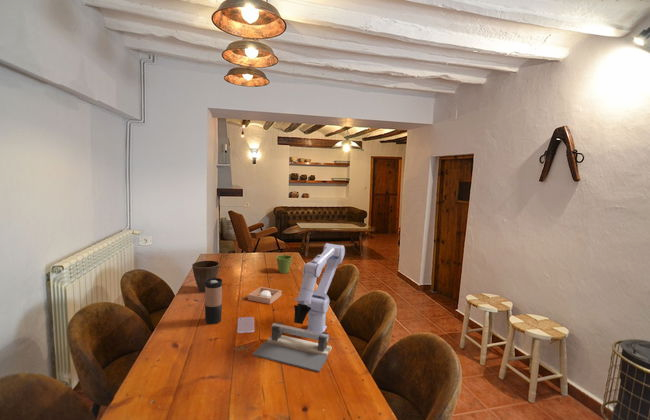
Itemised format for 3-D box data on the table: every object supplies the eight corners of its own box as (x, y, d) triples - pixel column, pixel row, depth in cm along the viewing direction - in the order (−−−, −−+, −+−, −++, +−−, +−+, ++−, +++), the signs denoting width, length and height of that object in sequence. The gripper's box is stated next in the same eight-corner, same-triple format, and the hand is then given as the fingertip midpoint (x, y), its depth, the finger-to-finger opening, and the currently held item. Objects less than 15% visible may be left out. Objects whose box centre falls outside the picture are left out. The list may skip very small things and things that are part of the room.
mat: (264, 343, 137) (264, 341, 137) (327, 357, 128) (327, 356, 128) (252, 355, 127) (252, 353, 127) (319, 372, 119) (319, 370, 119)
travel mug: (217, 316, 160) (217, 276, 157) (224, 321, 154) (225, 281, 152) (202, 320, 154) (202, 279, 152) (209, 326, 149) (209, 284, 147)
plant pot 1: (197, 296, 182) (197, 269, 180) (188, 288, 193) (188, 262, 191) (222, 291, 192) (223, 265, 190) (212, 284, 203) (213, 259, 201)
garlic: (261, 294, 191) (261, 288, 190) (272, 295, 190) (273, 289, 190) (257, 299, 183) (257, 293, 182) (269, 300, 182) (269, 294, 182)
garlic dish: (260, 291, 195) (260, 286, 194) (281, 295, 190) (281, 290, 190) (247, 299, 181) (247, 294, 181) (270, 304, 177) (270, 298, 177)
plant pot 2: (283, 268, 243) (283, 253, 242) (295, 272, 236) (295, 257, 235) (271, 272, 233) (272, 256, 232) (283, 275, 226) (284, 260, 225)
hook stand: (273, 335, 143) (274, 320, 143) (331, 348, 135) (332, 333, 134) (266, 342, 138) (267, 326, 137) (327, 356, 129) (328, 339, 129)
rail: (273, 327, 141) (274, 323, 140) (328, 339, 133) (328, 334, 133) (271, 330, 139) (271, 325, 138) (326, 342, 131) (327, 337, 131)
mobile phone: (237, 331, 144) (237, 317, 158) (237, 333, 144) (237, 318, 159) (254, 330, 146) (253, 316, 160) (254, 332, 146) (253, 318, 160)
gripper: (295, 289, 143) (286, 320, 138) (300, 286, 130) (291, 320, 125) (310, 293, 144) (301, 324, 139) (317, 291, 131) (308, 325, 126)
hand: (297, 323), depth 132 cm, fingers open, 7 cm apart
